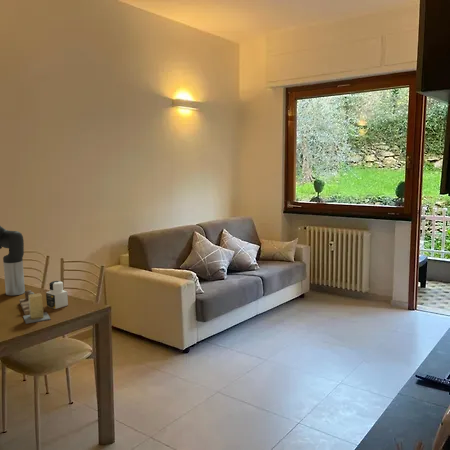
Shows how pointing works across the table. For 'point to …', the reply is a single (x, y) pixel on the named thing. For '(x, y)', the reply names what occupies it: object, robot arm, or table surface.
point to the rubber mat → (28, 319)
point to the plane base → (26, 302)
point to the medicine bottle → (56, 295)
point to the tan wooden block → (35, 306)
